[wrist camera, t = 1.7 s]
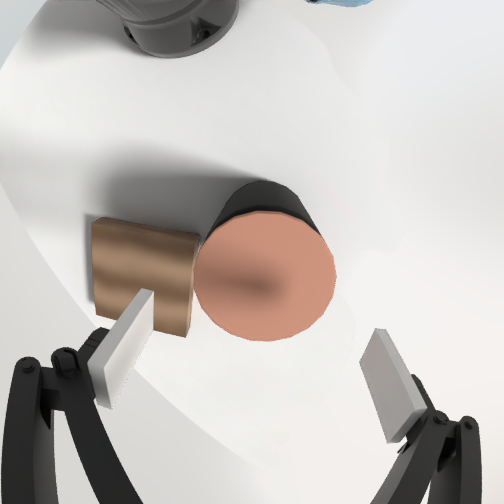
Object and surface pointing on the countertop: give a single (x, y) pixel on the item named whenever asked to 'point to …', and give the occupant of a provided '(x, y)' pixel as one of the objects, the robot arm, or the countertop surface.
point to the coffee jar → (264, 266)
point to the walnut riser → (144, 271)
